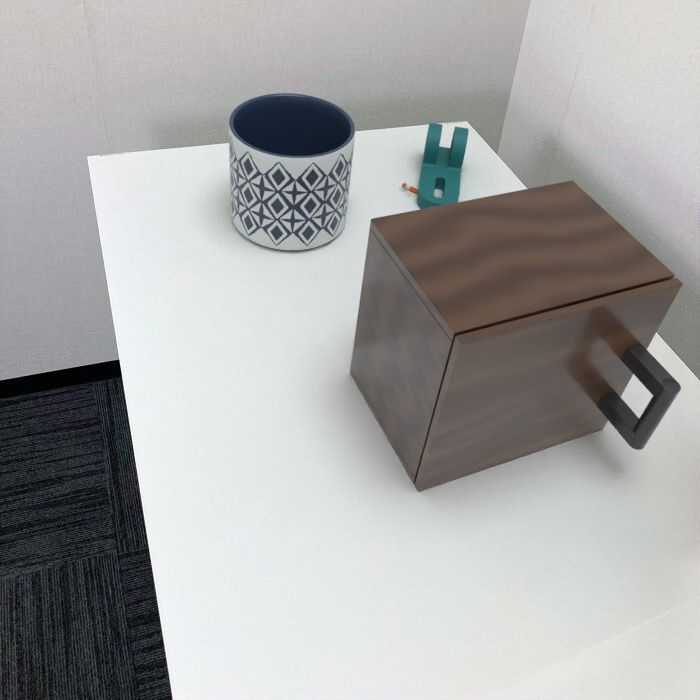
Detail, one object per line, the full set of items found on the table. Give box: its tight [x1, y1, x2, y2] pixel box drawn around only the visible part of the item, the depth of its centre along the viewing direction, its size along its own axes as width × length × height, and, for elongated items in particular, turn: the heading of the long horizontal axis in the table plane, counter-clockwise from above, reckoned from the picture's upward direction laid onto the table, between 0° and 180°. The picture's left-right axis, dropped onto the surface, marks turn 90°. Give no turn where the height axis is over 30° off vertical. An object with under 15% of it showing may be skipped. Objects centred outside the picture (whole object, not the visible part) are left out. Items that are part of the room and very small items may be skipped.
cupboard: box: [349, 179, 676, 484], centre depth 85 cm, size 18×26×24 cm
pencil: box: [401, 182, 419, 195], centre depth 123 cm, size 1×18×1 cm, turn 51°
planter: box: [228, 92, 356, 251], centre depth 111 cm, size 18×18×16 cm
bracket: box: [416, 122, 469, 209], centre depth 125 cm, size 18×7×8 cm, turn 172°
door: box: [414, 277, 684, 492], centre depth 77 cm, size 8×26×24 cm, turn 114°
